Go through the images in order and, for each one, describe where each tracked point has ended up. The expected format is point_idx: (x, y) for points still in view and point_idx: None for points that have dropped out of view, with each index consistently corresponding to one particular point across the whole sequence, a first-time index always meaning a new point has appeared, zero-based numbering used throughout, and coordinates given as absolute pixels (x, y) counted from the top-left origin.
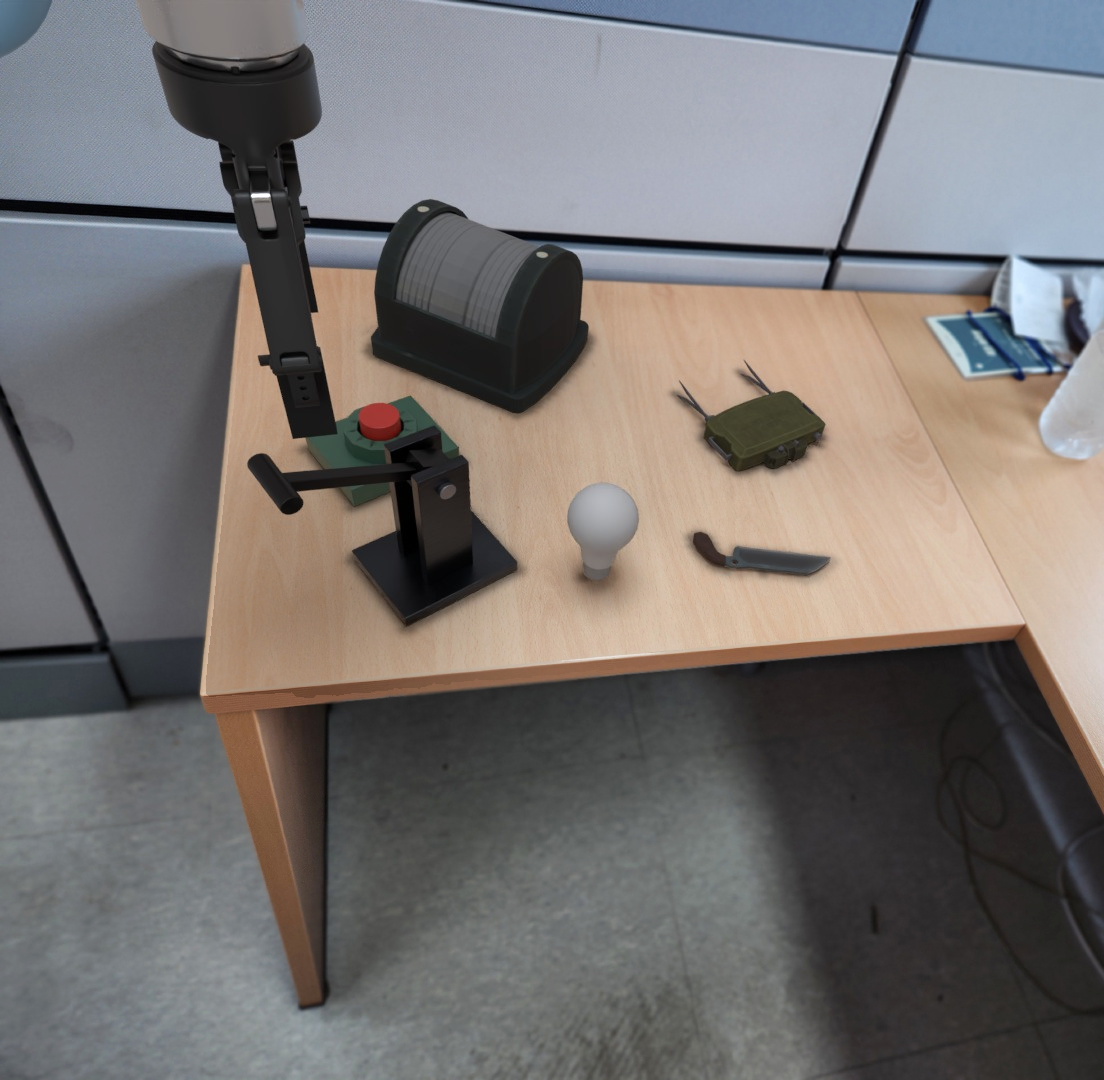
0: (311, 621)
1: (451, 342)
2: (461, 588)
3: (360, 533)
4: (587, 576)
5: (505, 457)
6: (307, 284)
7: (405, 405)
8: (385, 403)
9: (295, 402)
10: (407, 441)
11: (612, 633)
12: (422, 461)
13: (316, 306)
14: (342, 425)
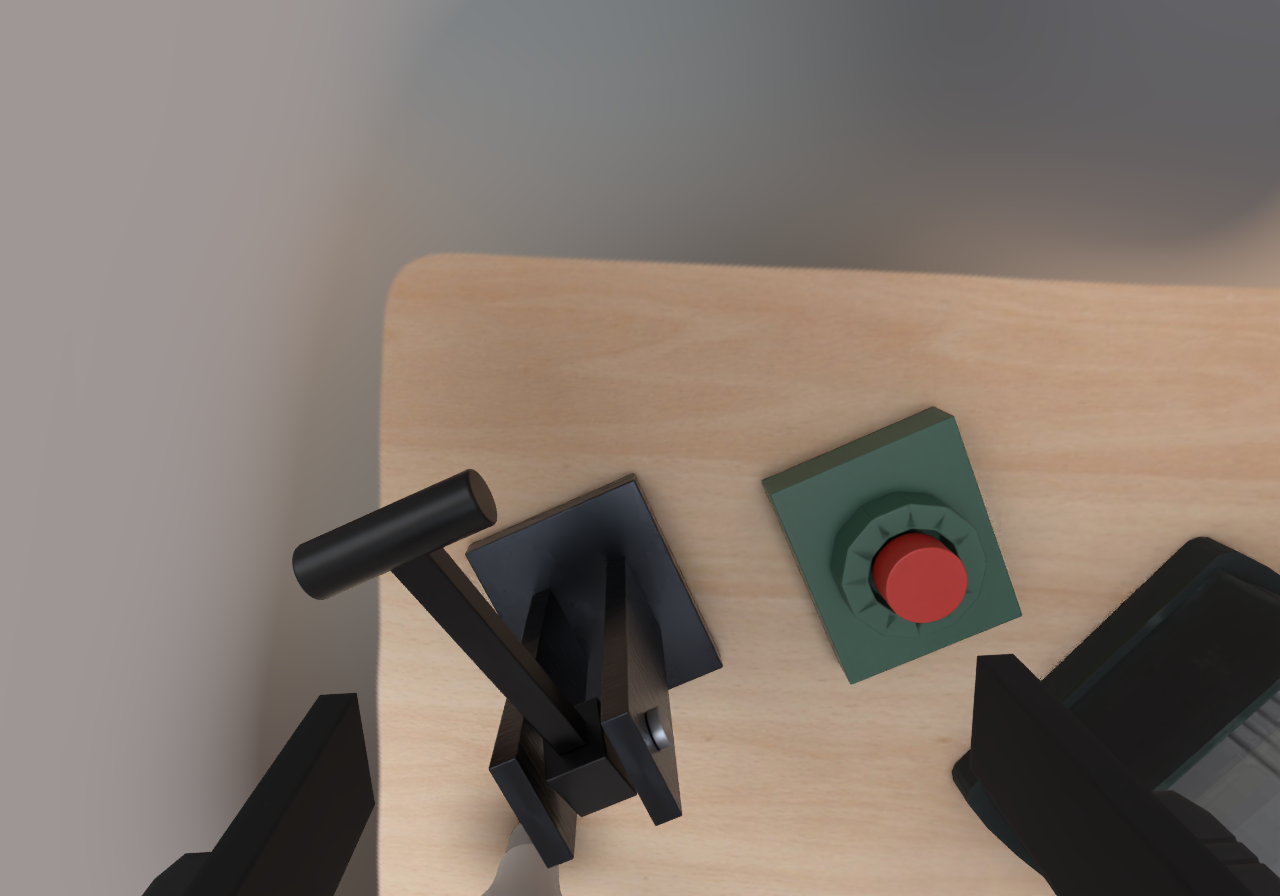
0: (503, 401)
1: (1133, 739)
2: None
3: (693, 487)
4: (519, 825)
5: (837, 735)
6: (1032, 838)
7: (992, 604)
8: (961, 599)
9: (149, 890)
10: (630, 759)
11: (416, 829)
12: (567, 778)
13: (981, 781)
14: (959, 487)
